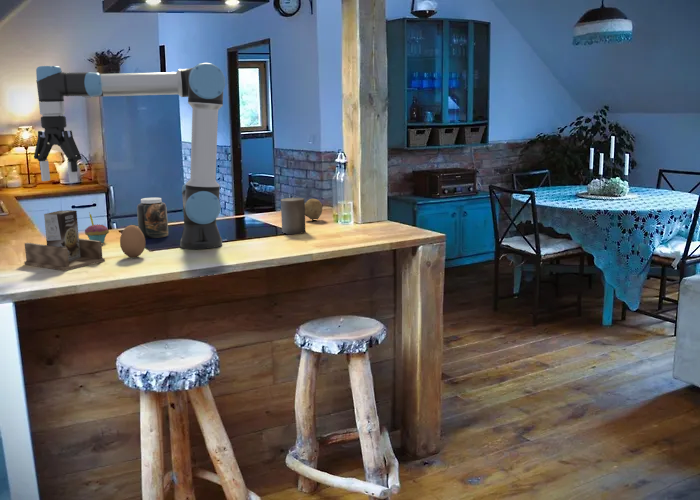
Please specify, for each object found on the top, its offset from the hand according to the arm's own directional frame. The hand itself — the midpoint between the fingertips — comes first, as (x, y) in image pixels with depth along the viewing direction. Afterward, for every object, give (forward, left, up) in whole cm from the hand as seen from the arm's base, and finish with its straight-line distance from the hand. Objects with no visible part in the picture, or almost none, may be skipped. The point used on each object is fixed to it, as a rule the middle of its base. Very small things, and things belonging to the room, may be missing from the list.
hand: (59, 181), depth 232 cm
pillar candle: (-35, -81, -27) cm, 93 cm away
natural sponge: (-25, -110, -27) cm, 116 cm away
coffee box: (-1, +2, -26) cm, 26 cm away
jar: (+11, -49, -27) cm, 57 cm away
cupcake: (+19, -28, -27) cm, 44 cm away
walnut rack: (-1, +2, -27) cm, 27 cm away
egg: (-15, -15, -27) cm, 35 cm away
